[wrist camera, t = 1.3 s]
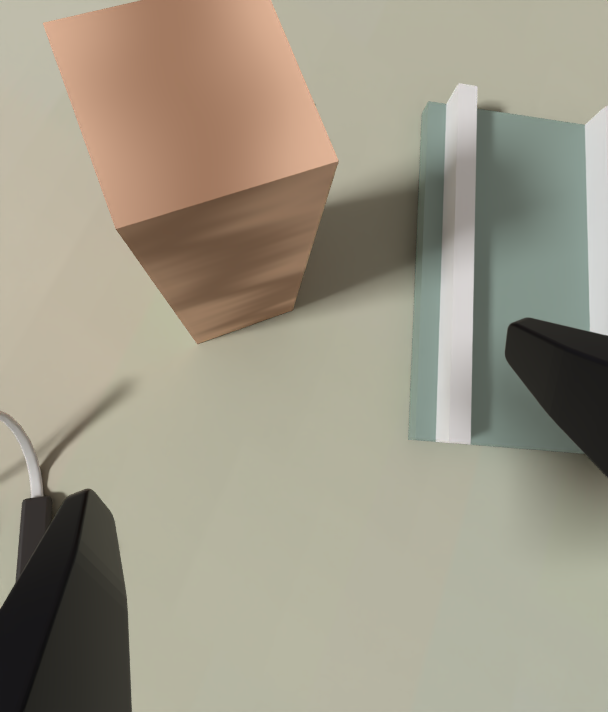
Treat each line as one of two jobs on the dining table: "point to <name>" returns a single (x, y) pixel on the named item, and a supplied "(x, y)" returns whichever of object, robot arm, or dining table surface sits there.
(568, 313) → the slot board
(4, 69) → the dining table surface
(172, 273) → the plug block
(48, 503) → the clip-on lamp
